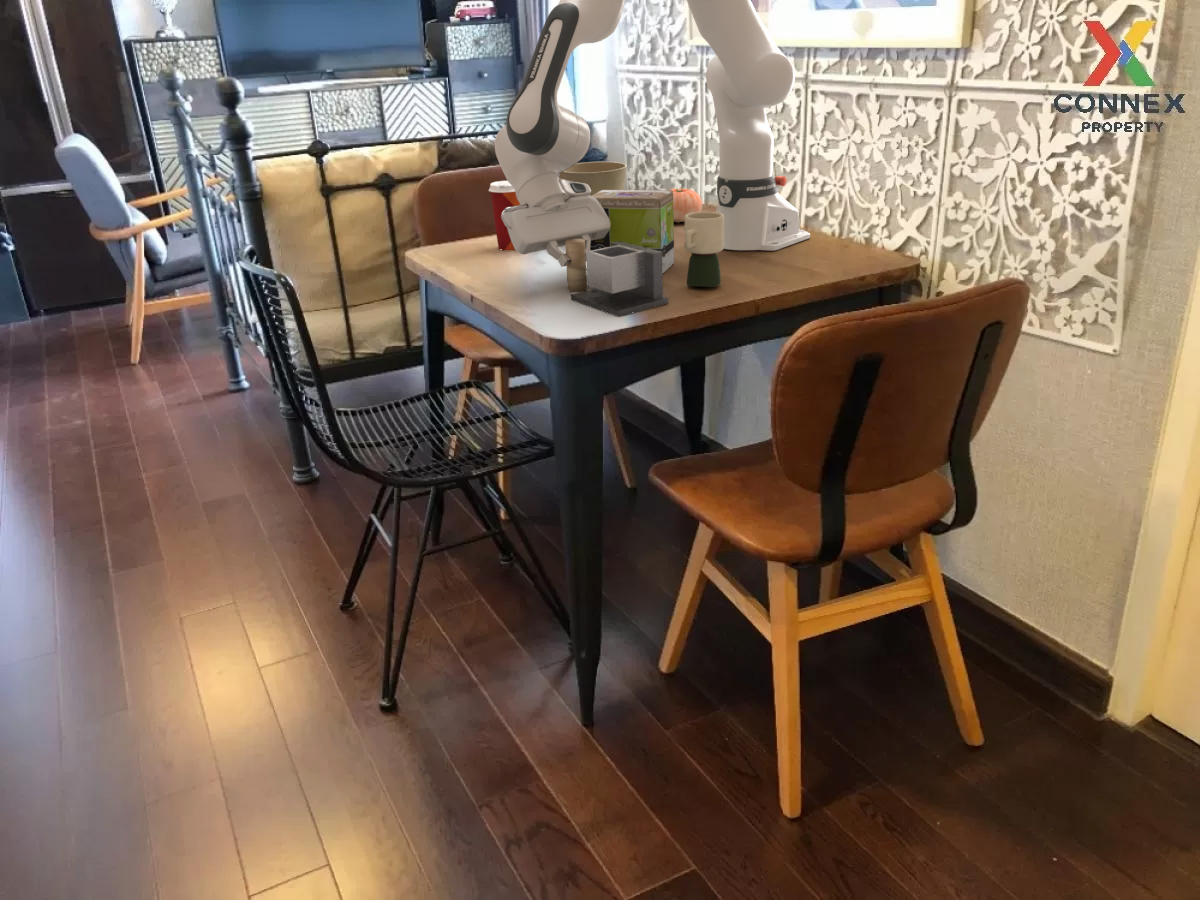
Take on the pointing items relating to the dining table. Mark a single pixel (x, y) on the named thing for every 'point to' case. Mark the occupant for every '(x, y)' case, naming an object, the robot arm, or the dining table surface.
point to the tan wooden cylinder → (576, 265)
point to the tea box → (639, 220)
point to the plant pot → (597, 175)
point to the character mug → (704, 247)
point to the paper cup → (501, 199)
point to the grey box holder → (623, 279)
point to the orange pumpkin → (685, 203)
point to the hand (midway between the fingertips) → (578, 262)
